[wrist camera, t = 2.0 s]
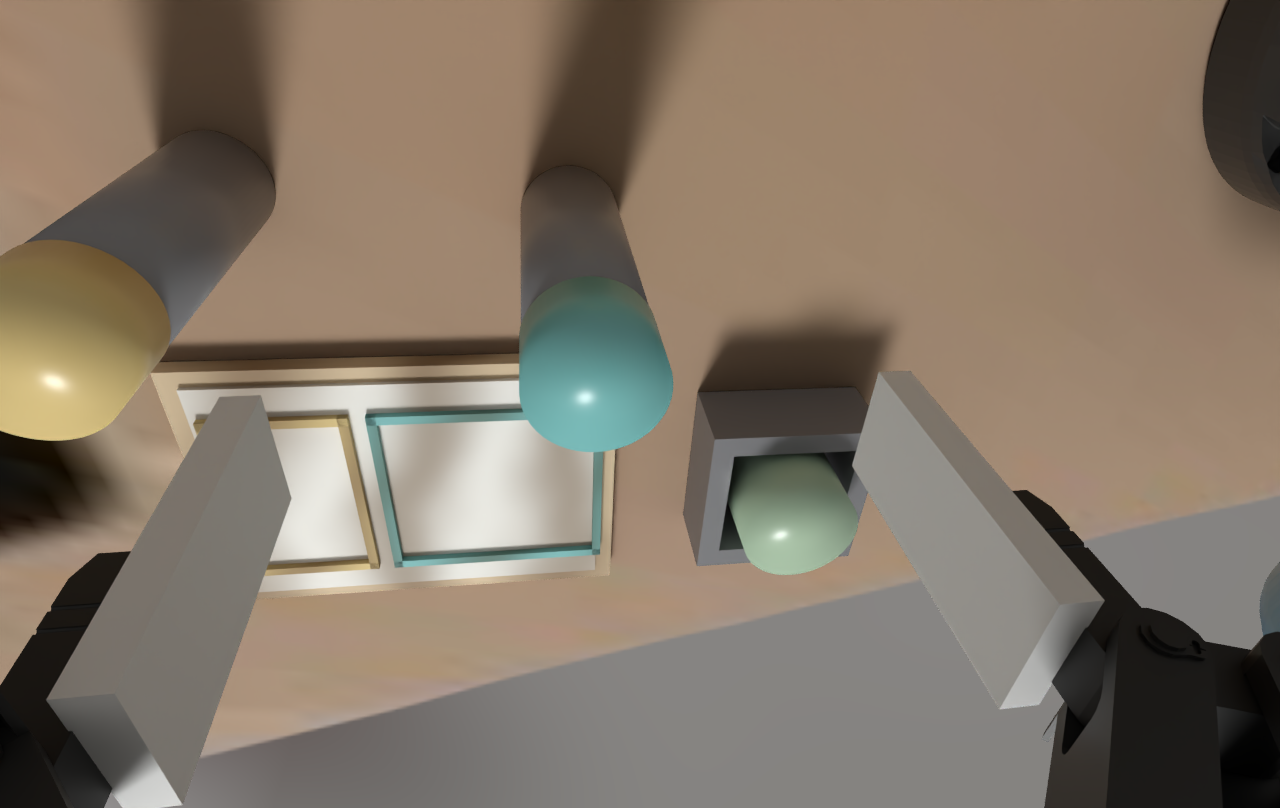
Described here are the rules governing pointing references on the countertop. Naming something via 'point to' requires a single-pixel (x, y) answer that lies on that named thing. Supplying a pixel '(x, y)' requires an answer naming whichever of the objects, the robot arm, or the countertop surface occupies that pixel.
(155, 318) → the ochre marker
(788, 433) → the button housing
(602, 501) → the double window tray
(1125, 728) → the robot arm
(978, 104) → the countertop surface
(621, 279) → the teal marker
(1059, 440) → the countertop surface
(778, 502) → the button
